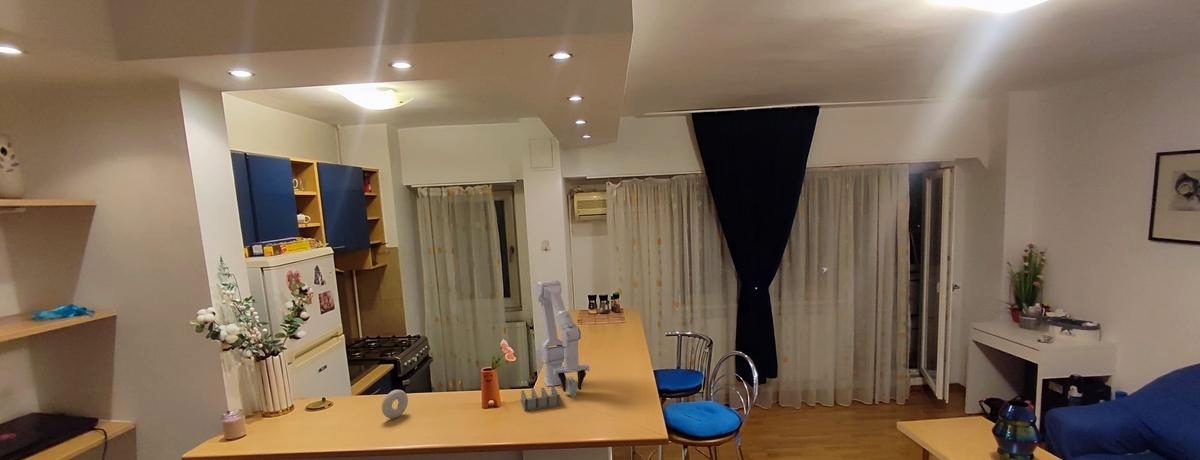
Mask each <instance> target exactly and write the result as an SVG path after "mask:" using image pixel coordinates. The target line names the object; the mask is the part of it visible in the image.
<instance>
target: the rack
mask: <svg viewBox="0 0 1200 460" xmlns="http://www.w3.org/2000/svg"><path fill="white" fill-rule="evenodd" d="M550 387H551V390H550V391H551V394H550V395H548V392H547V391H546V389H545V387H541V388H540V389H541V396H538V395H537V392H536V390H535V389H534V388H531V390H530V391H531V395H530V396H531V397H527V394H526V392H525V390H521V391H520V394H521V395H520V397H521V399H520V403H521V405H522V408H523V411H524V412H527V411H529V412H530V411H534V410H543V409H549V408H556V407H561V394H559V392H558V390H557V389H556V388H555V386H550Z"/></svg>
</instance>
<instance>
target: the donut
mask: <svg viewBox="0 0 1200 460" xmlns="http://www.w3.org/2000/svg"><path fill="white" fill-rule="evenodd" d="M396 400H397V401H398V403H397V405H396V406H395V408H393V403H394V402H395V401H396ZM408 404H409V399H408V394H406V392H405V391H404V390H402V389H393V390H391V391H390V392H389V393H388V394H386V395H385V397H384V399H383V401H382V403H381V412H382V414H383V416H384V417H385V418H388V419H391V420H392V419H397V418H398V417H400V416H402V415H403V414H404V413H405V411H406V410H407V407H408Z"/></svg>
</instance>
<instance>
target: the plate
mask: <svg viewBox="0 0 1200 460" xmlns="http://www.w3.org/2000/svg"><path fill="white" fill-rule="evenodd" d="M567 392H568V394H569V395H570V396H571V398H577V382H576V379H574V377H573V376H567Z"/></svg>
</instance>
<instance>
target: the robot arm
mask: <svg viewBox="0 0 1200 460" xmlns="http://www.w3.org/2000/svg"><path fill="white" fill-rule="evenodd" d="M562 291H563V290H562V283H561V282H560V281H559V280H558V279H556V280H547V281H538V282H537V284H536V286H535V292H536V293H535V294H536V299H537V301H538V302H540V307H541V316H542V320H543V327H544V333H545V341H544V342H543V343H542V344H541V346H540V347H541V348H540V349H541V351H540V357H541V360H542V362H543V363H544V364H545V365H544V378H542V380H543V382H544V383H545V386H546V387H552V386H554V387H555V386H561V387H562V390H563V391H562V392H564V393H566V392H567V386H566V385H567V384H566V383H567V381H566V380H567V376H566V374H569V373H576V374H577V389H578V390H579V391H580V390H582V385H583V382H584V380H585V379H584V378H586V375H587V372H590V365H589V364H580V363H579V362H580V361H579V340H580V339H581V338H582V337H581V336H582V332H581V328H580V327H579V326H578V325H577V324H576V323H575V322H574V320H573V318H572V316H571V313H570V311H568V310H566V307H565V305H564V302H563V301H564V300H563V298H562V295H561V294H562ZM554 309H555V311H556V319H555V313H554ZM556 320H557V322H558V325H559V327H560V330H561V333H560V336H561V339H559V337H558V331H557V325H556ZM563 363H564V364H563ZM563 365H564V366H563Z"/></svg>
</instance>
